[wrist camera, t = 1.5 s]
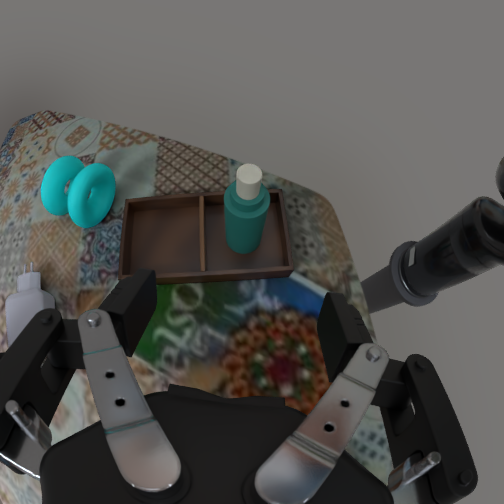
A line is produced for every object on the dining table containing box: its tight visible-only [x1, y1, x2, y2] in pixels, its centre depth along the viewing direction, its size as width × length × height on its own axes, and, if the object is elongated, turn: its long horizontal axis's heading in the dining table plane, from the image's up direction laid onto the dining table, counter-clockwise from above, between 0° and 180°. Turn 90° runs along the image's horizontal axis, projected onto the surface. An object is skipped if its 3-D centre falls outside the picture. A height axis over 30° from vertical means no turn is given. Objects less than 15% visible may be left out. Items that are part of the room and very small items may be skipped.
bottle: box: [224, 164, 270, 254], centre depth 33 cm, size 5×5×16 cm
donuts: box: [41, 156, 116, 228], centre depth 36 cm, size 10×10×10 cm
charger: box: [6, 262, 55, 347], centre depth 32 cm, size 5×9×15 cm
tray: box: [118, 189, 294, 285], centre depth 38 cm, size 23×12×4 cm, turn 95°
